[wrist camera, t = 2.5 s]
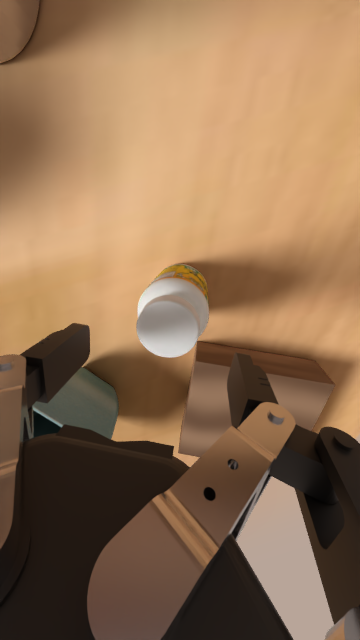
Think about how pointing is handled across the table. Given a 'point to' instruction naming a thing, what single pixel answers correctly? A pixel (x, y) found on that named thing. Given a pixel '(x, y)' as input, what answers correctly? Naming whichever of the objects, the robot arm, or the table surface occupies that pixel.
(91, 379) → the flower pot
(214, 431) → the walnut plinth
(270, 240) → the table surface
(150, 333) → the supplement bottle
